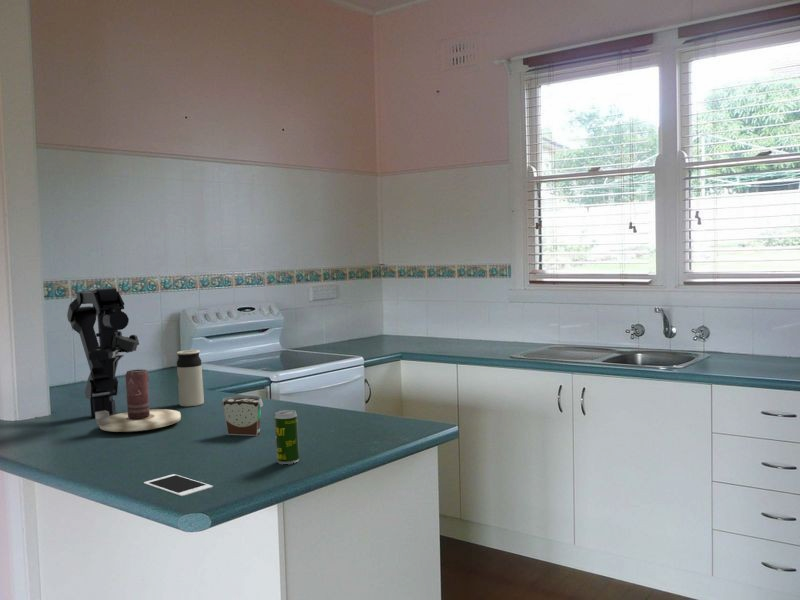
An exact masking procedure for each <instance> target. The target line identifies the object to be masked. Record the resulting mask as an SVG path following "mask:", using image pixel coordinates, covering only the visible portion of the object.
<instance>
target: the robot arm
mask: <svg viewBox="0 0 800 600" xmlns="http://www.w3.org/2000/svg"><path fill="white" fill-rule="evenodd" d="M75 297H76V298H75V299H73V300H72V301H71V303H70V304H69V305H68V310H67V315H66V317H67V321H68V323H69V324H70V326H71V329H72V330H74V331H75V332H76V333H78V334H79V336H80V337H79V338H80V340H81V344H82V346H83V350H84V353H85V358H86V361H87V364H88V367H89V371H90V372H89V374H88V377H87V383H86V386H85V389H84V395H85V398H86V399H88V400H89V404H90V414H91V415H89V416H88V418H93V419H94V418H95V412H99V411H105V410H106V411H108V412H109V416H112V415H116V414H117V411H116V401H115V399H114V396H118V390H119V389H118V388H119V381H118V378H117V376H116V374H117V368H118V363H119V361H120V360H121V359H122V358H123V357H124V356H125V355H124V354H121V355H120V353H125V354H127V353H132V352H135V351H137V348H138V346H139V345H140V341H139V339H138V335H135V334H131V335H129V337H128V336H123V334H122V333H123V332H122V330H124V329H126V328H127V326H128V325H129V322H130V321H129V320H130V319H129V317H128V316H129V315H128V314H127V313H125V312H124V311H122V310H125V302H124V300H123V298H122V296H121V293H120V292H119V291H118V290H117V287H106V288H105V287H104V288H94V289H93V290H89V291H88V290H87V291H79V292H77V294H76V296H75ZM87 304H89V305H90V304H92V306H82V305H87ZM96 321H97V331H98V332H97V333H96V331H95V324H96ZM97 337H98V338H97Z"/></svg>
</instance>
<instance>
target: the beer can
mask: <svg viewBox="0 0 800 600" xmlns="http://www.w3.org/2000/svg"><path fill="white" fill-rule="evenodd" d="M274 413H275V414H274V432H275V434H274V435H275V448H276V451H275V452H276V461H277V463H278V464H279V465H283V464H288V465H294V464H296V462H297V463H298V462H299V460H300V441H299V425H298V424H299V423H298V414H297V411H296V410H294V409H293V410H292V409H284V410H278V411H276V412H274ZM293 463H294V464H293Z"/></svg>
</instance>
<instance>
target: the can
mask: <svg viewBox="0 0 800 600" xmlns="http://www.w3.org/2000/svg"><path fill="white" fill-rule="evenodd" d="M125 386H126V387H125V388H126V389H125V390H126V405H127V406H126V408H127V412H128V417H129V418H130V419H143V418H147V417H149V415H150V411H149V410H150V396H149V395H150V394H149V371H148V370H146V369H132V370H126V374H125Z"/></svg>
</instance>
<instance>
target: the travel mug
mask: <svg viewBox="0 0 800 600" xmlns="http://www.w3.org/2000/svg"><path fill="white" fill-rule="evenodd" d="M200 352H201V350H199V349H187V350H180V351H177V352H176V354H177V356H178V358H177V360H176V369H177V371H176V372H177V373H176V374H177V384H178V387H177V388H178V389H177V390H178V403H179V406H180V407H183V408H184V407H185V408H186V407H188V408H190V407H199V406H201V405H203V404H204V403H205V398H204V397H205V395H204V381H203V368H202V365H203V363H202V359H201V357H200Z"/></svg>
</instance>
